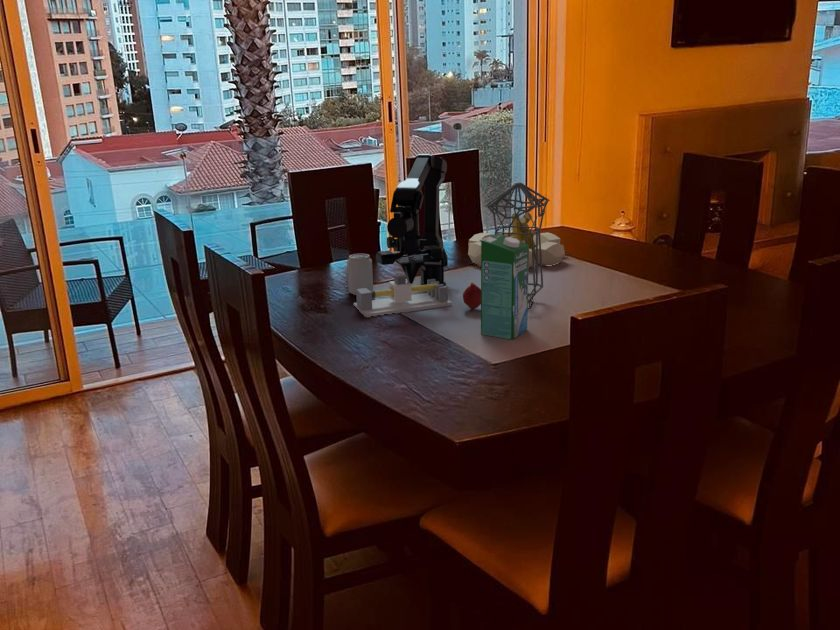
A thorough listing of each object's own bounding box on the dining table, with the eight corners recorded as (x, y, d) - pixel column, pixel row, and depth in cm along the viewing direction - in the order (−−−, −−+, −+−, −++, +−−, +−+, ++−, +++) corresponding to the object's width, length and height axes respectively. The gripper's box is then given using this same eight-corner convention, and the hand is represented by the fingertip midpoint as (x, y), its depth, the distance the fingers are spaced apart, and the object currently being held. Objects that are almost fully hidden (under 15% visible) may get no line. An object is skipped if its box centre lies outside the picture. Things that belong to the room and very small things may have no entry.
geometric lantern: (484, 309, 216) (483, 185, 206) (498, 295, 230) (498, 179, 220) (539, 313, 211) (541, 186, 201) (550, 299, 225) (552, 179, 215)
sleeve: (405, 296, 223) (404, 273, 221) (411, 300, 219) (410, 277, 217) (389, 298, 222) (388, 275, 220) (395, 302, 217) (394, 279, 215)
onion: (485, 307, 218) (485, 280, 215) (480, 313, 213) (480, 285, 210) (466, 305, 220) (465, 279, 217) (460, 311, 215) (460, 284, 212)
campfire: (570, 271, 255) (572, 220, 250) (469, 273, 256) (469, 222, 251) (554, 247, 288) (556, 202, 283) (465, 249, 289) (464, 204, 284)
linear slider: (435, 294, 231) (435, 275, 229) (451, 305, 220) (451, 285, 218) (353, 306, 222) (352, 286, 220) (366, 317, 211) (365, 296, 210)
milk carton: (512, 340, 191) (514, 242, 184) (480, 334, 196) (480, 239, 188) (527, 329, 199) (529, 235, 191) (496, 324, 203) (497, 232, 195)
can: (369, 297, 231) (368, 258, 227) (345, 296, 232) (343, 257, 228) (376, 290, 237) (374, 252, 234) (352, 289, 239) (351, 252, 235)
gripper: (428, 222, 226) (429, 273, 230) (368, 228, 219) (371, 281, 224) (443, 229, 216) (444, 282, 221) (381, 236, 209) (383, 290, 214)
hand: (410, 283), depth 220 cm, fingers closed
